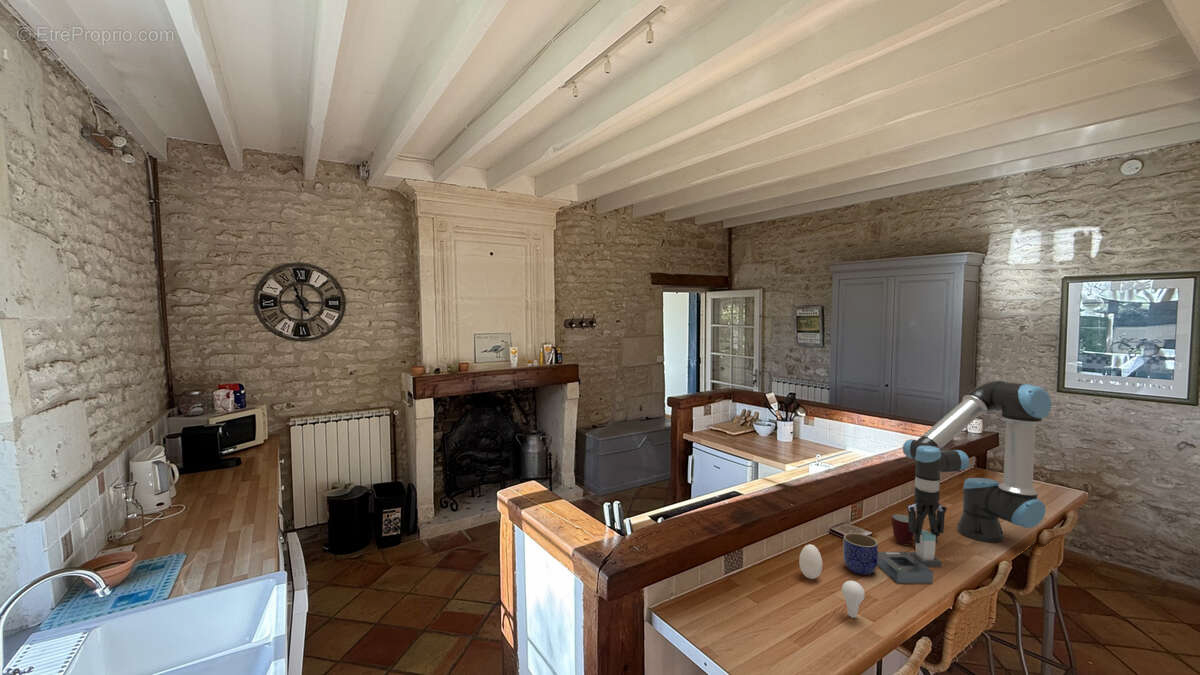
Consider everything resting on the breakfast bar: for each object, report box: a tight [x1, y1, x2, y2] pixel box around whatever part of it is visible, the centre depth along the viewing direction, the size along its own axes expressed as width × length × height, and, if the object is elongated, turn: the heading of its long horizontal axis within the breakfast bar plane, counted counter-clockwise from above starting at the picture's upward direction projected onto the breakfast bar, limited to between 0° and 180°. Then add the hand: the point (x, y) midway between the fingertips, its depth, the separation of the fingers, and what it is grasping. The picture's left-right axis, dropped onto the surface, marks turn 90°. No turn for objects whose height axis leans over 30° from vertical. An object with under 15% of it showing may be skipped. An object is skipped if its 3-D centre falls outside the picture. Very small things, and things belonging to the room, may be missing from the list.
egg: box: [798, 543, 823, 580], centre depth 169 cm, size 7×7×12 cm
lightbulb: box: [841, 580, 866, 619], centre depth 147 cm, size 6×6×11 cm
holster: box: [909, 551, 942, 568], centre depth 179 cm, size 7×7×2 cm
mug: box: [891, 513, 915, 546], centre depth 193 cm, size 11×8×10 cm
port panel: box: [877, 551, 934, 585], centre depth 172 cm, size 12×14×4 cm
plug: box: [915, 530, 936, 560], centre depth 179 cm, size 4×4×11 cm
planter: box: [842, 532, 879, 576], centre depth 174 cm, size 11×11×11 cm
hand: (925, 551), depth 179 cm, fingers closed on plug, 4 cm apart
